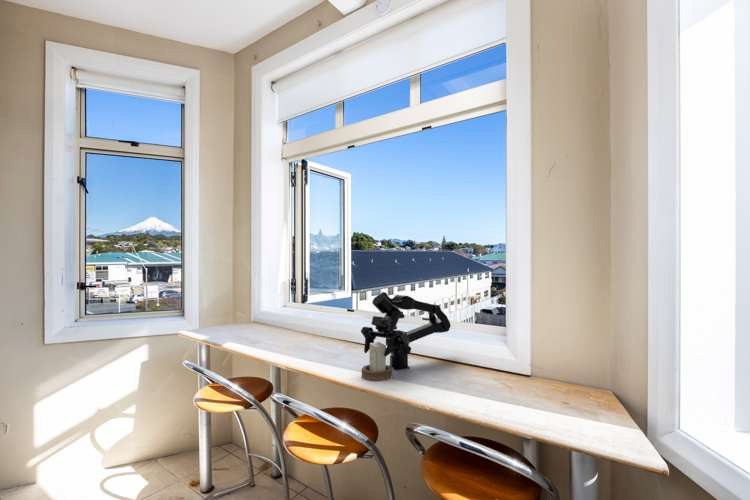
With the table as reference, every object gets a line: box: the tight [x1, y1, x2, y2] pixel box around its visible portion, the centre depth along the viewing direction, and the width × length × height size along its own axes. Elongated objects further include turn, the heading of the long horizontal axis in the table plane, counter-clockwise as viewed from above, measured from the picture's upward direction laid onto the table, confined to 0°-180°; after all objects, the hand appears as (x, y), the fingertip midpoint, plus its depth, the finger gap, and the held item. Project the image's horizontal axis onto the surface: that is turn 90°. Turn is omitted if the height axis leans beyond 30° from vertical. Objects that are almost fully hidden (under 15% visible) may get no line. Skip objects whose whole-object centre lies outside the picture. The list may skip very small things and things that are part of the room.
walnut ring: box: [361, 364, 393, 382], centre depth 139 cm, size 11×11×3 cm
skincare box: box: [369, 341, 387, 372], centre depth 139 cm, size 6×4×12 cm
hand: (374, 354), depth 138 cm, fingers open, 9 cm apart
